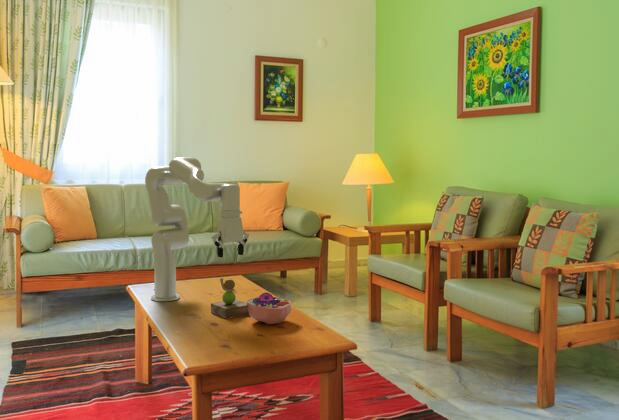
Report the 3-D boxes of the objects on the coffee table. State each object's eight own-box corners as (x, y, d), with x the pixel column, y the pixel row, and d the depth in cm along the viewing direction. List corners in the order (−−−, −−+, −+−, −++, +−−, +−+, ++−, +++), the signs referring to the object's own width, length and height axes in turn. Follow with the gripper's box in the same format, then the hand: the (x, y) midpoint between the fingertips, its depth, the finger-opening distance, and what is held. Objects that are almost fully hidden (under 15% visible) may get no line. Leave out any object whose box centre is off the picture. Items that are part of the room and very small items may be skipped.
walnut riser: (210, 312, 261) (210, 303, 261) (235, 308, 268) (235, 299, 268) (226, 318, 252) (226, 308, 251) (251, 314, 259) (251, 304, 259)
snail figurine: (221, 302, 262) (221, 274, 261) (236, 302, 262) (236, 274, 261) (218, 305, 257) (218, 276, 256) (234, 305, 256) (234, 276, 255)
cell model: (256, 331, 234) (256, 301, 233) (241, 318, 253) (241, 290, 252) (298, 327, 240) (298, 298, 239) (281, 314, 259) (281, 287, 258)
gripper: (243, 212, 265) (243, 252, 266) (207, 214, 254) (207, 256, 256) (253, 214, 259) (253, 255, 260) (216, 216, 248) (216, 259, 250)
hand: (230, 255), depth 258 cm, fingers open, 9 cm apart
